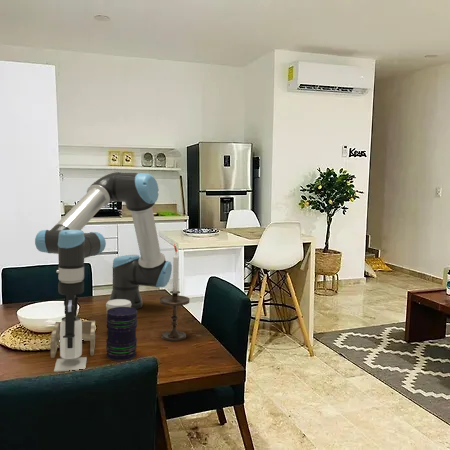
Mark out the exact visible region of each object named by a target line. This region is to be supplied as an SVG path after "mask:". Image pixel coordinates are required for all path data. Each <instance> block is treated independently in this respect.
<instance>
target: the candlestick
mask: <svg viewBox="0 0 450 450" xmlns="http://www.w3.org/2000/svg"><path fill="white" fill-rule="evenodd" d="M173 245H174V253H175V254H174V255H173V257H172V259H173V260H172V261H173V262H172V263H173V264H172V290H171V291H169V293H170V294H171V295H170V294H169V295H164V296H162V297H160V298H159V303H160V304H161V305H164V306H169V307H172V315H171V316H170V319H171V321H172V322H171V323H170V325H171V327H172V328H171V330H166V331H164V332H162V333H161V339H163V340H165V341H166V342H167V341H168V342H180V341H184V340H185V339H186V338H187V333H186V332H184V331H182V330H177V326H178V325H179V324H178V322H177V320H178V319H179V316H178V315H177V307H179V306H180V307H181V306H185V305H188V304H190V301H191V300H190V298H189V297H188V296H185V295H179V294H180V293H181V291H179V290H178V289H179V257H180V256H179V255H178V248H177V246H176V244H175V243H174V244H173Z"/></svg>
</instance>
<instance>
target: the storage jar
mask: <svg viewBox="0 0 450 450" xmlns="http://www.w3.org/2000/svg"><path fill="white" fill-rule="evenodd" d="M137 327H138V309H135V308H131V307H115V308H111V309H109V310H107V312H106V329H107V339H106V340H105V341H106V342H105V343H106V345H105V348H106V358H107V359H109V360H111V361H118V362H121V361H128V360H131V359H134V358H135V357H136V356H137V348H138V346H137V345H138V343H137V342H138V339H137Z"/></svg>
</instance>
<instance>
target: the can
mask: <svg viewBox="0 0 450 450" xmlns="http://www.w3.org/2000/svg"><path fill="white" fill-rule="evenodd" d="M81 319H82V318H81V317H80V316H79V315H77V316H75V330H74V334H75V358H65V338H63V336H65V316H64V317H62V318H61V321H60V322H61V323H60V342H59V356H60V359H68V360H70V359H76V358H80V357H82V354H83V341H82V322H81V321H82V320H81Z"/></svg>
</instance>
